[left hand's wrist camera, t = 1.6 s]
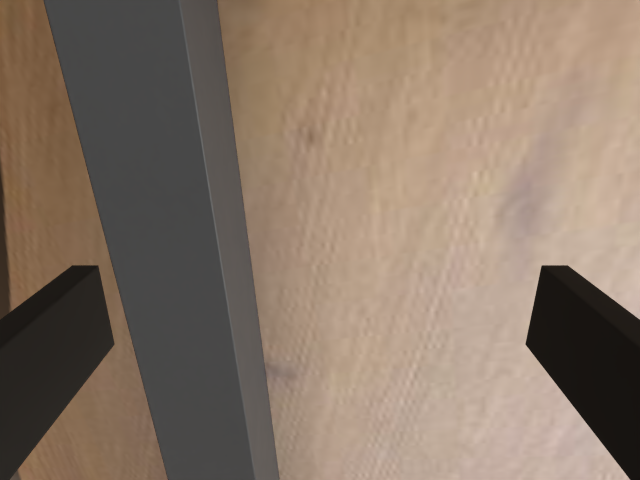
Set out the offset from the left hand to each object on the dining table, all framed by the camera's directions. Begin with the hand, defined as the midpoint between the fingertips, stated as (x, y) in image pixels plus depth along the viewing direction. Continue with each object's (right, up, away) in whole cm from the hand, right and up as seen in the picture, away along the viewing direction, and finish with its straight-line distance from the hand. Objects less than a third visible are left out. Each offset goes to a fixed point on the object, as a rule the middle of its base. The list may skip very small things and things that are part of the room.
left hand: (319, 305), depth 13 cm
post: (-7, -15, +24) cm, 30 cm away
